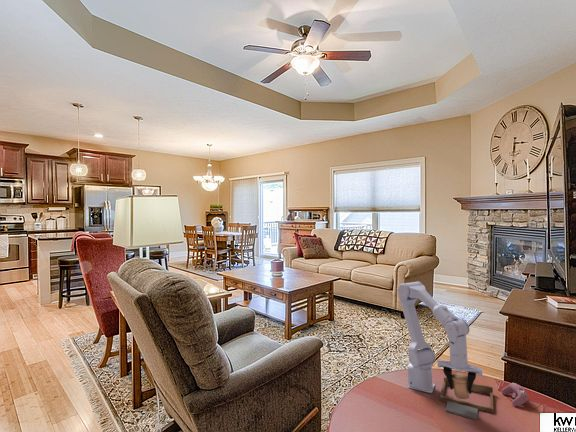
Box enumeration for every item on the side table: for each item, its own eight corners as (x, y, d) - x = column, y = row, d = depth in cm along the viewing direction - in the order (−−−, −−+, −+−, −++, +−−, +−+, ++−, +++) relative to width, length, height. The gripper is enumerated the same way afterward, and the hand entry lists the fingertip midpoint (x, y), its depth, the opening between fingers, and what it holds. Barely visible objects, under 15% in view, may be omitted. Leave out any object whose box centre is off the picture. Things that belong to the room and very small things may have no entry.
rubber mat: (445, 411, 113) (445, 409, 113) (447, 402, 119) (447, 400, 119) (477, 420, 108) (477, 418, 108) (477, 409, 114) (477, 408, 114)
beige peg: (453, 397, 114) (450, 379, 114) (454, 389, 118) (452, 371, 118) (469, 401, 111) (467, 382, 111) (470, 392, 115) (468, 374, 115)
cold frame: (439, 400, 121) (439, 392, 121) (444, 383, 133) (443, 376, 133) (493, 413, 111) (492, 404, 111) (493, 394, 124) (492, 386, 124)
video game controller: (524, 412, 114) (533, 395, 114) (512, 405, 115) (520, 389, 114) (511, 397, 124) (518, 382, 123) (499, 392, 124) (507, 376, 124)
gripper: (435, 353, 115) (437, 390, 115) (481, 361, 107) (483, 400, 107) (438, 346, 121) (440, 381, 120) (481, 353, 113) (483, 391, 112)
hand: (460, 390), depth 114 cm, fingers closed on beige peg, 5 cm apart
